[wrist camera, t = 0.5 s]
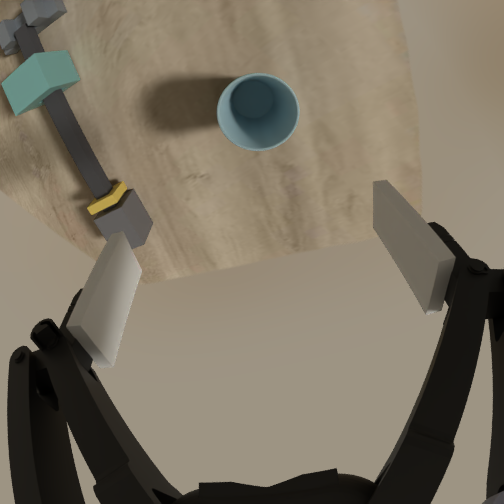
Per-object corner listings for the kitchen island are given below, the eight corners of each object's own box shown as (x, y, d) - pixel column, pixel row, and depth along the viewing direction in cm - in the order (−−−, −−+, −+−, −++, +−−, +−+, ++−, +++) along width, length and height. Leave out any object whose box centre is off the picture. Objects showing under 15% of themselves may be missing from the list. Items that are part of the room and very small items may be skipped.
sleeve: (35, 74, 30) (1, 83, 24) (67, 50, 29) (34, 53, 23) (48, 102, 33) (15, 116, 26) (80, 79, 32) (49, 88, 25)
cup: (270, 136, 39) (280, 162, 30) (213, 117, 37) (205, 136, 28) (293, 84, 35) (312, 92, 26) (234, 62, 33) (233, 62, 25)
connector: (107, 201, 43) (93, 220, 38) (133, 188, 42) (121, 207, 37) (127, 233, 46) (116, 255, 41) (153, 222, 45) (144, 244, 40)
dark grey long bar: (21, 37, 26) (2, 38, 22) (44, 18, 25) (26, 17, 21) (122, 232, 44) (113, 249, 41) (146, 222, 44) (139, 238, 40)
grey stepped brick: (8, 34, 26) (-13, 35, 21) (58, -9, 24) (39, -13, 20) (15, 53, 28) (-6, 56, 24) (67, 11, 26) (48, 9, 22)
